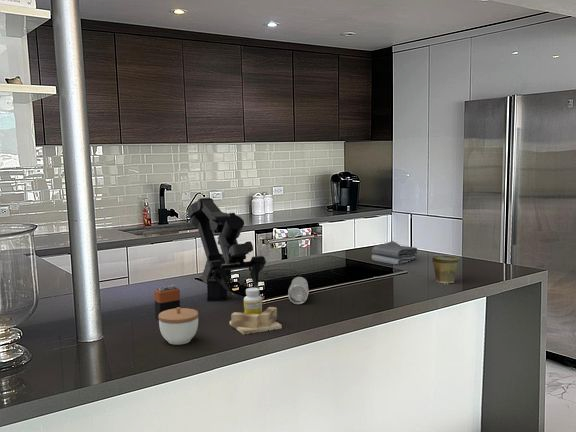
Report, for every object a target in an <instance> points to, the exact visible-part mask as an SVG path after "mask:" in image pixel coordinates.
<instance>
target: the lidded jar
mask: <svg viewBox="0 0 576 432" xmlns="http://www.w3.org/2000/svg"><path fill="white" fill-rule="evenodd" d="M158 318H159V319H158V324H159V325H158V327H159V330H160V334H161V336H162V337H163V338H164V339H165V341H167V342H168V344H170V345H173V346H174V345H175V346H177V345H178V346H179V345H185V344H188V343H190V342H191V341H192V339H193V338H194V337H195V335H196V333H197V331H198V328H199V327H198V325H199V312H198V310H197V309H194V308H187V307H181V306H180V307H177V308H176V309H169V310H165V311H163V312H161V313H160V314H159V315H158Z"/></svg>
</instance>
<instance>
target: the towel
mask: <svg viewBox="0 0 576 432" xmlns="http://www.w3.org/2000/svg"><path fill="white" fill-rule="evenodd" d="M371 253H372V255H371V259H372V261H375V262H379V263H385V264H390V265H395V264H397V266H399V264H400V265H403V264H406V263H409V262H412V261H415V260H417V256H418V255H417V254H419V253H418V248H417V247H415V246H413V247H412V246H405V245H401V244H398V243H397V242H396V241H393V240H392V241H387V242H385V243H381V244H376V245H375V246H373V248H372V249H371ZM414 259H415V260H414ZM411 260H412V261H411ZM408 261H409V262H408ZM402 263H403V264H402Z"/></svg>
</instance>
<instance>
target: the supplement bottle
mask: <svg viewBox="0 0 576 432" xmlns="http://www.w3.org/2000/svg"><path fill="white" fill-rule="evenodd" d="M245 295H246V296H244V297H243V313H249V314H261V313H262V312H263V297H262V296H261V295H260V288H259V287H258V288H256V287H248V288H246V289H245Z"/></svg>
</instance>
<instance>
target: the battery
mask: <svg viewBox="0 0 576 432" xmlns="http://www.w3.org/2000/svg"><path fill="white" fill-rule="evenodd" d="M180 292H181V290H180V288H178V287H176V285H175V284H170V285H167V287H164V286H160V287H159V288H157V289H154V314H155V315H154V317H155V318H156V319H157V320H159V318H158V315H159V314H160V313H161V312H163V311H165V310H169V309H176V308H177V307H180V308H181V297H180V295H181V293H180Z"/></svg>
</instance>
